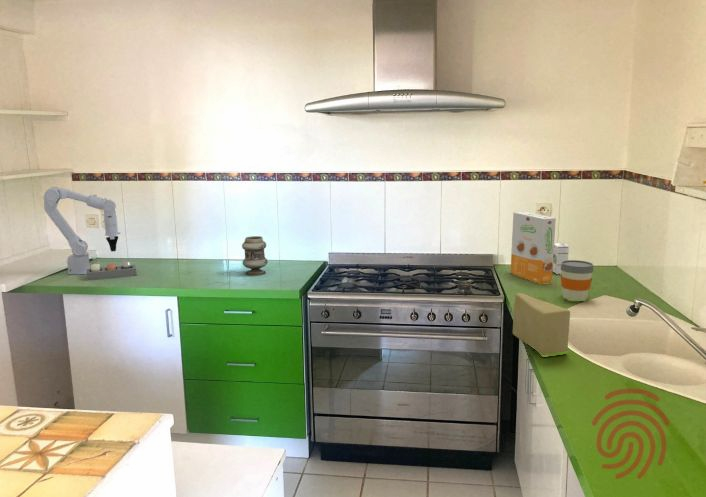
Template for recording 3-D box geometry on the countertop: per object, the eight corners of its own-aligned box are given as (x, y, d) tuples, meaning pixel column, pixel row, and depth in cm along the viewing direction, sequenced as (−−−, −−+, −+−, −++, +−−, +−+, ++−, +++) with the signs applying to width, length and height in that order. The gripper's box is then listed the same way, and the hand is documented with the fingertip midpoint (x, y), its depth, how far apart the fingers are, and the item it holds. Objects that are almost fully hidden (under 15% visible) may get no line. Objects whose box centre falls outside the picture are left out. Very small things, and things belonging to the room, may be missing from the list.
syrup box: (567, 275, 277) (569, 245, 274) (555, 275, 277) (557, 245, 274) (563, 272, 283) (565, 243, 280) (551, 272, 283) (553, 243, 280)
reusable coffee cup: (571, 304, 231) (573, 267, 228) (552, 296, 243) (554, 261, 240) (597, 301, 234) (600, 265, 231) (578, 293, 246) (580, 259, 243)
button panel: (136, 275, 282) (135, 268, 281) (87, 280, 273) (86, 273, 273) (135, 271, 290) (135, 264, 289) (87, 275, 281) (86, 269, 281)
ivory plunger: (89, 273, 277) (88, 265, 276) (94, 271, 280) (93, 263, 280) (97, 273, 276) (96, 265, 275) (102, 271, 280) (101, 263, 279)
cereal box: (551, 283, 262) (555, 218, 256) (540, 284, 260) (544, 219, 254) (521, 272, 283) (524, 211, 277) (510, 273, 281) (513, 212, 275)
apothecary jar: (240, 272, 287) (238, 236, 284) (263, 269, 292) (262, 234, 289) (246, 277, 277) (245, 240, 273) (271, 274, 282) (269, 238, 278)
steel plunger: (121, 270, 282) (120, 262, 281) (125, 268, 286) (124, 260, 285) (129, 270, 282) (128, 262, 281) (132, 268, 286) (132, 261, 285)
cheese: (501, 335, 197) (503, 293, 194) (526, 332, 200) (528, 290, 197) (541, 359, 176) (545, 312, 173) (568, 355, 179) (571, 308, 176)
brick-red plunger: (105, 273, 279) (105, 265, 279) (109, 271, 283) (109, 263, 283) (113, 273, 279) (113, 265, 278) (117, 271, 283) (117, 263, 282)
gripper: (120, 226, 283) (122, 253, 286) (119, 221, 296) (121, 247, 299) (104, 227, 280) (106, 254, 283) (104, 222, 293) (106, 249, 296)
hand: (113, 251), depth 291 cm, fingers closed
